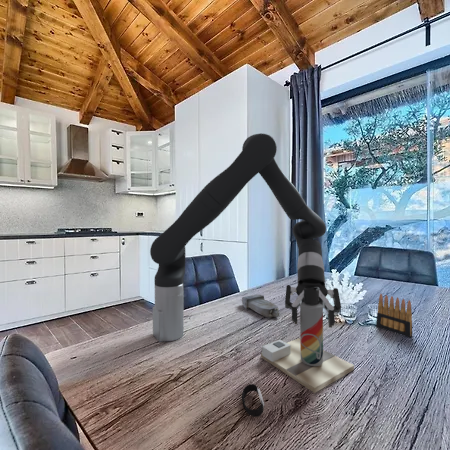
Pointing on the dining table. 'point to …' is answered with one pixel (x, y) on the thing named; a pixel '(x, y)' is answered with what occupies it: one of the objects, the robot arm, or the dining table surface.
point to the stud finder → (276, 350)
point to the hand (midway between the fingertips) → (313, 324)
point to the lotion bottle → (311, 327)
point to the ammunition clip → (394, 316)
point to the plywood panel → (312, 368)
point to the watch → (254, 388)
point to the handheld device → (260, 305)
